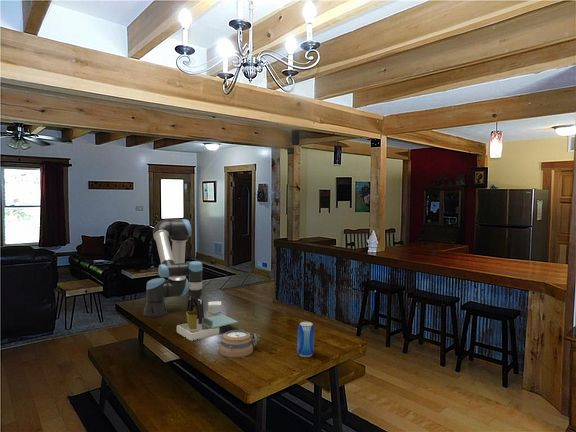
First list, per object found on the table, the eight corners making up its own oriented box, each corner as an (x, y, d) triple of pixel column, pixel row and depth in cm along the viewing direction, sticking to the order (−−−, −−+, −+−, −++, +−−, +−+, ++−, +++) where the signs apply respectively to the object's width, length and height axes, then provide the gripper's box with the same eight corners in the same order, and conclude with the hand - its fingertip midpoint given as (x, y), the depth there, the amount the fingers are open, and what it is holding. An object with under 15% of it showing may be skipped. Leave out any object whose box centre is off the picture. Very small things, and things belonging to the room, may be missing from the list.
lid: (197, 320, 233) (197, 314, 233) (222, 315, 245) (222, 309, 245) (212, 328, 220) (212, 322, 220) (238, 322, 232) (238, 316, 232)
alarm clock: (213, 333, 198) (246, 323, 216) (212, 351, 199) (245, 339, 216) (234, 342, 187) (268, 330, 204) (234, 360, 187) (267, 347, 205)
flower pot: (200, 325, 228) (201, 310, 228) (203, 329, 220) (204, 314, 220) (185, 326, 225) (185, 311, 224) (188, 331, 217) (188, 315, 216)
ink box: (221, 322, 244) (221, 304, 244) (207, 323, 242) (207, 304, 242) (220, 318, 253) (221, 300, 252) (207, 319, 251) (207, 301, 250)
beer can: (296, 351, 201) (297, 321, 200) (312, 351, 201) (313, 321, 201) (298, 358, 192) (298, 326, 192) (314, 357, 193) (315, 326, 192)
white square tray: (176, 332, 225) (176, 325, 225) (203, 326, 236) (203, 319, 236) (191, 341, 211) (191, 333, 211) (219, 334, 223) (219, 327, 223)
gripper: (180, 285, 227) (179, 323, 228) (198, 293, 211) (198, 333, 212) (192, 284, 232) (191, 320, 233) (211, 291, 216) (210, 330, 217)
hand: (194, 326), depth 222 cm, fingers closed on flower pot, 10 cm apart
